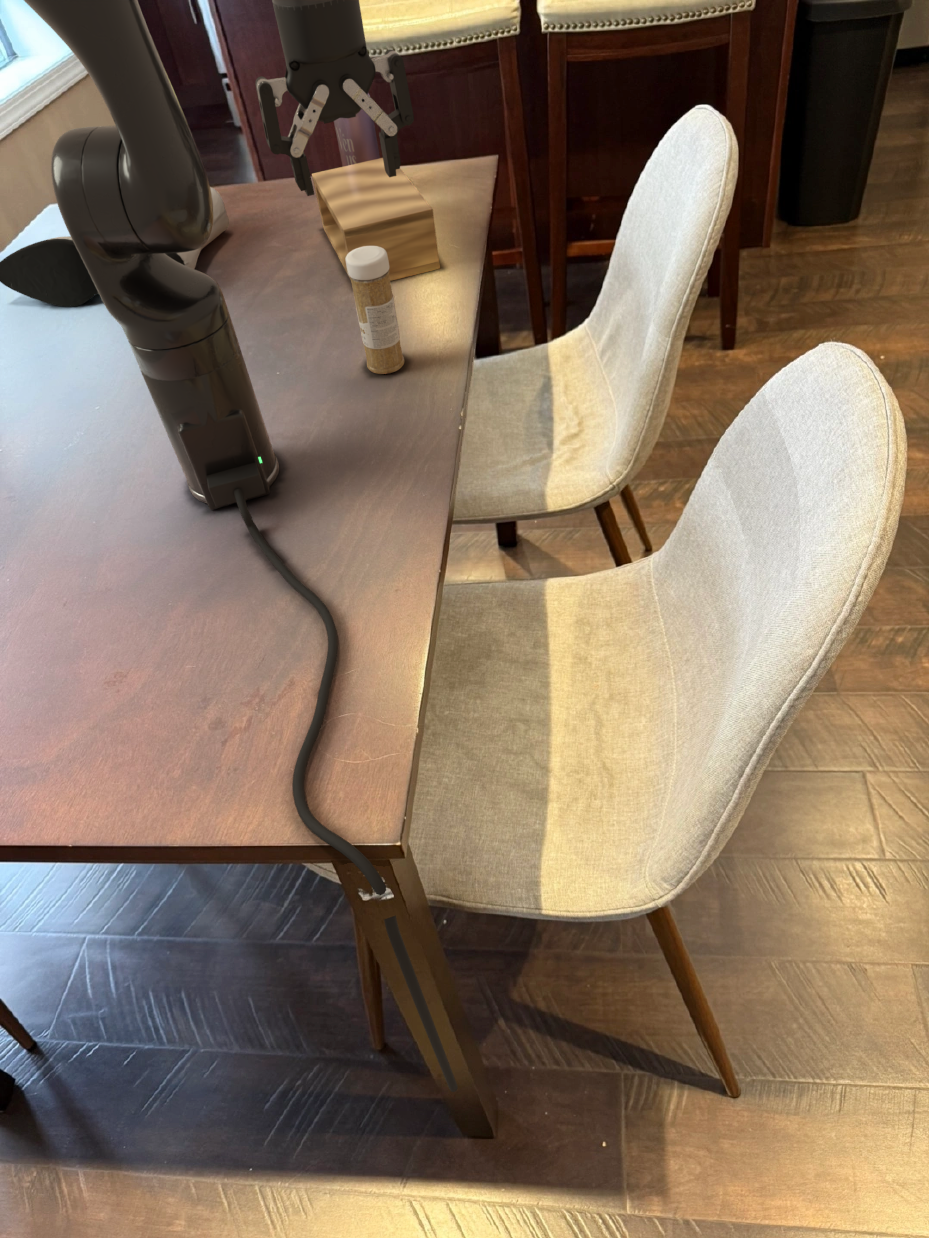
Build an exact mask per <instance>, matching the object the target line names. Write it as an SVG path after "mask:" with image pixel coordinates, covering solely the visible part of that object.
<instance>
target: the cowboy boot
mask: <svg viewBox="0 0 929 1238" xmlns="http://www.w3.org/2000/svg"><path fill="white" fill-rule="evenodd" d="M210 189H211V194H212V202H213V226H212V231H211V235H210V237H209V239H208V241H207V242H206V243H205V244H204V245H203V246H202V247H201V248H199V249H197V250H193V251H189V252H182V253H165V254H166V255H167V256H169V257H170V258H172V259H173V260H175V261H177V262H179V263H181V264H183V265H185V266H187V267H190V268H192V269H195V268H196V266H197V262H198V258H199V256H200V253H201V251H202V250H203V249H204V248H205V247H207V246H208V245H209V244H210V243H212V241H214V240H215V239H216V238H217V237H219V236H220V235H221V234H222V233H223V232H224V231H226V230H227V229H228V228H229V226H230V220H229V216H228V213H227V209H226V205H225V202H224V199H223V198H222V195H221V194H220V192H218V190H217V189H215V188H214V187H212V186H210ZM195 270H196V269H195ZM0 283H1V284H2V285H3V286H5V287H7V288H8V289H10V290H12V291H14V292H16V293H19V294H21V295H24V296H26V297H28V298H30V299H34V300H37V301H40V302H42V303H45V304H49V305H53V306H57V307H63V308H73V307H78V306H82V305H84V304H85V303H87V302H88V301H90V300H91V299H92V298H94V297H95V296H96V295H99V293H98V291H97V289H96V287H95V284H94V282H93V280H92V278H91V276H90V274H89V272H88V270H87V268H86V266H85V264H84V262H83V260H82V258H81V256H80V254H79V252H78V250H77V248H76V246H75V244H74V242H73V240H72V238H71V236H70V235H69V236H57V237H56V236H55V237H52V238H48V239H44V240H41V241H36V242H33V243H32V244H28V245H26V246H24V247H21V248H19V249H18V250H16V251H14V252H12V253H10V254H9V255H7V256H5V257H4V258H3V259H2V260H0Z"/></svg>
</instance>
